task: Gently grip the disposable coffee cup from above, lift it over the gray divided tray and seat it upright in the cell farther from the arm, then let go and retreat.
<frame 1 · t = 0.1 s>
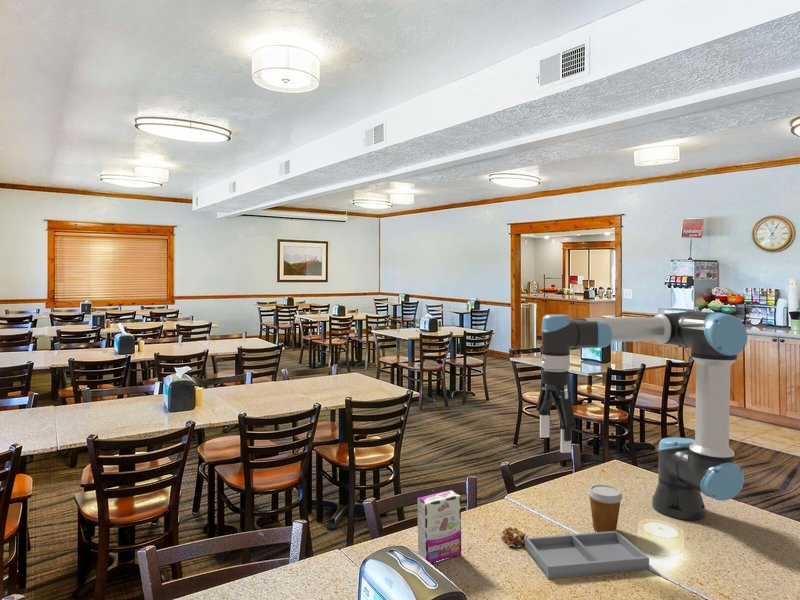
hand: (554, 444, 144), 28 cm above the table, tool pointing down, fingers open, 13 cm apart
disposable coffee cup: (604, 530, 152), on the table
brown lumpy cluster: (512, 540, 147), on the table
gray divided tray: (584, 558, 136), on the table
candy bar box: (439, 557, 137), on the table
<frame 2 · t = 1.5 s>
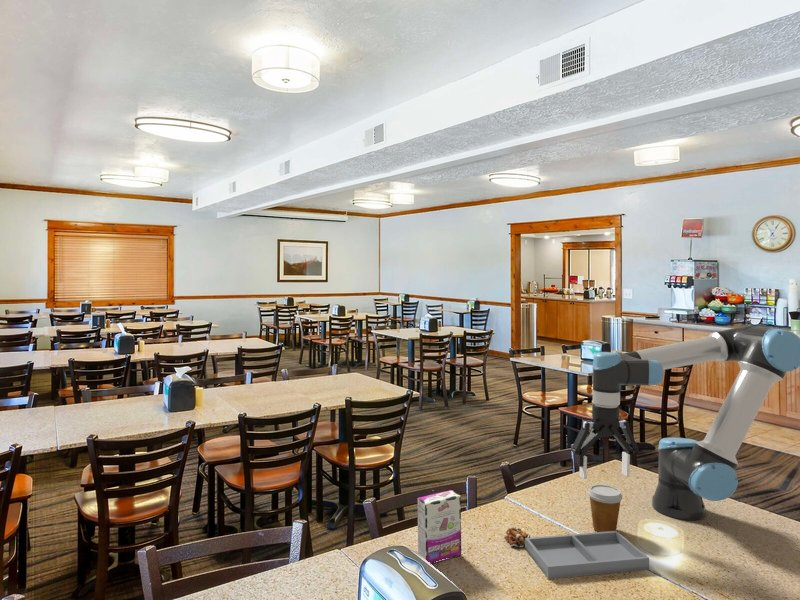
hand: (604, 476, 151), 16 cm above the table, tool pointing down, fingers open, 13 cm apart
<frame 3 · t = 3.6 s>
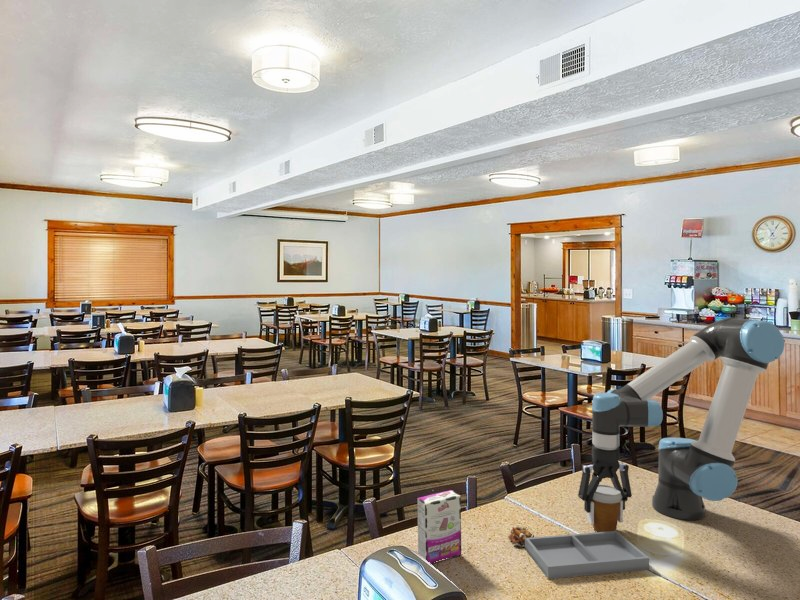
hand: (604, 521, 152), 3 cm above the table, tool pointing down, fingers closed on disposable coffee cup, 8 cm apart
disposable coffee cup: (604, 530, 152), on the table, touching gripper
brown lumpy cluster: (519, 539, 147), on the table
everything else where it was.
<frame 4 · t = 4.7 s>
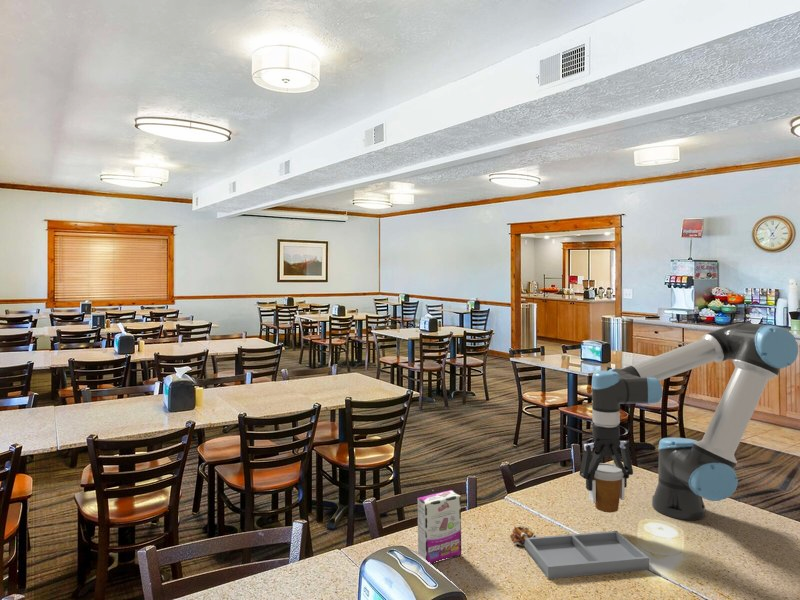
hand: (606, 499, 152), 9 cm above the table, tool pointing down, fingers closed on disposable coffee cup, 8 cm apart
disposable coffee cup: (606, 508, 152), point 6 cm above the table, touching gripper
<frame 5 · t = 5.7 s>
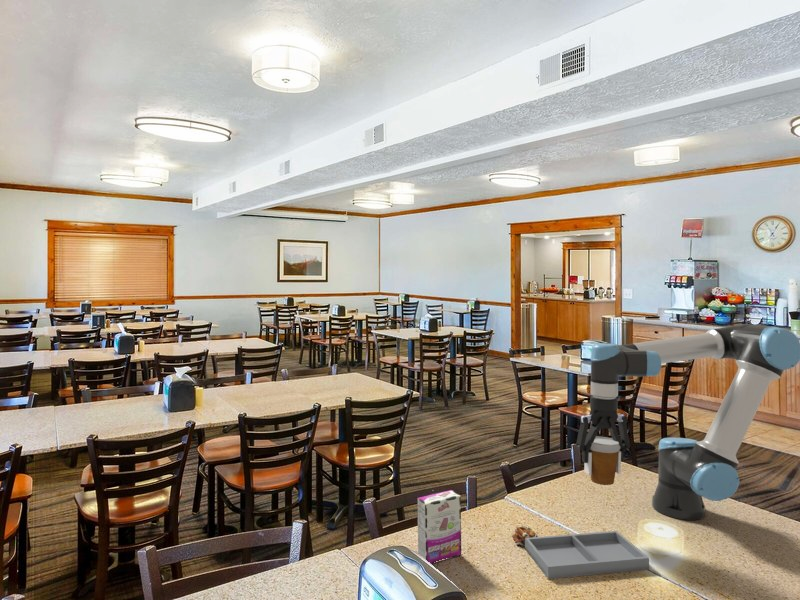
hand: (602, 472, 151), 18 cm above the table, tool pointing down, fingers closed on disposable coffee cup, 8 cm apart
disposable coffee cup: (602, 481, 151), point 15 cm above the table, touching gripper
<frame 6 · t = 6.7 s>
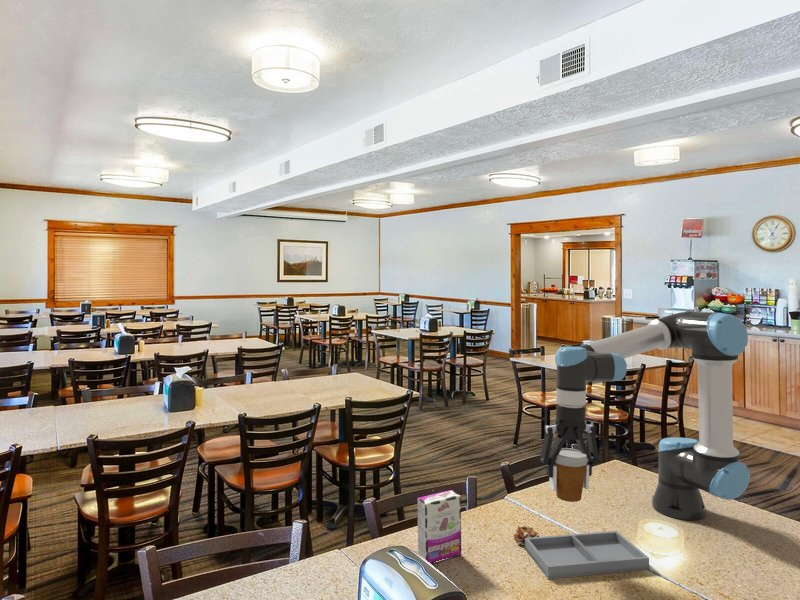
hand: (568, 488, 138), 18 cm above the table, tool pointing down, fingers closed on disposable coffee cup, 8 cm apart
disposable coffee cup: (568, 498, 138), point 15 cm above the table, touching gripper
when the fingers open (5 cm above the table, at t = 9.5 s): disposable coffee cup drops 1 cm, resting on gray divided tray.
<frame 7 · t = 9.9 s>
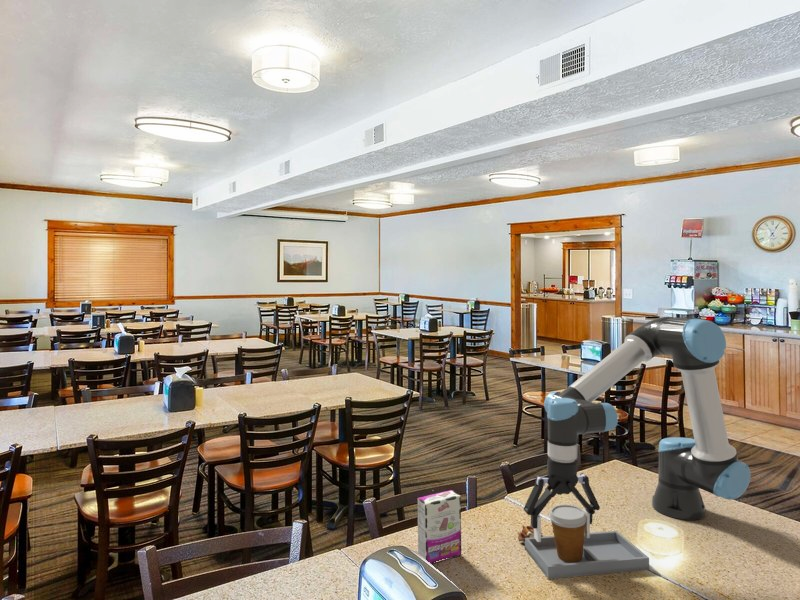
hand: (561, 537, 135), 6 cm above the table, tool pointing down, fingers open, 13 cm apart
disposable coffee cup: (570, 556, 135), point 1 cm above the table, touching gray divided tray, gripper
brown lumpy cluster: (529, 538, 148), on the table
everything else where it was.
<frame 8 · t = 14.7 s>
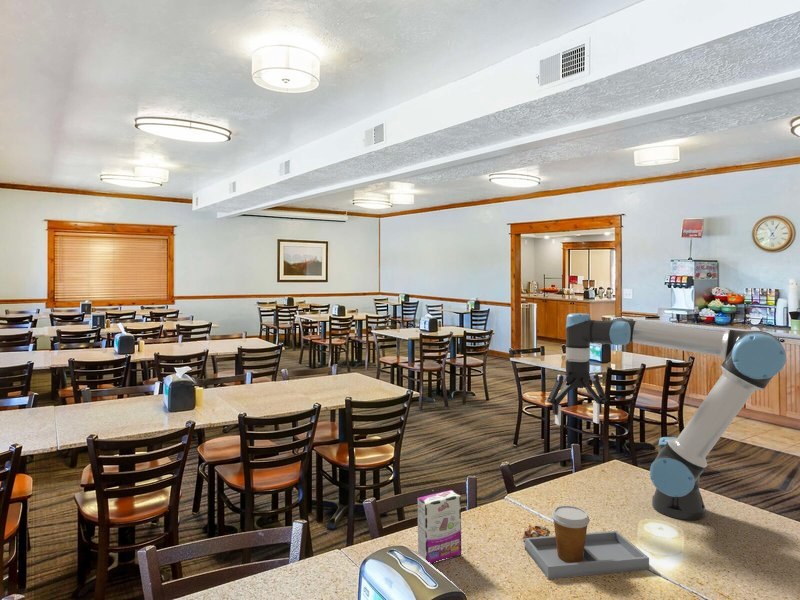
hand: (577, 423, 170), 27 cm above the table, tool pointing down, fingers open, 13 cm apart
disposable coffee cup: (570, 557, 135), point 1 cm above the table, touching gray divided tray
brown lumpy cluster: (536, 537, 149), on the table
everything else where it was.
at the end: disposable coffee cup 2.6 cm from the target spot on the gray divided tray, point 0.6 cm above the gray divided tray's base; disposable coffee cup tilted 0°; the gripper is holding nothing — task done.
